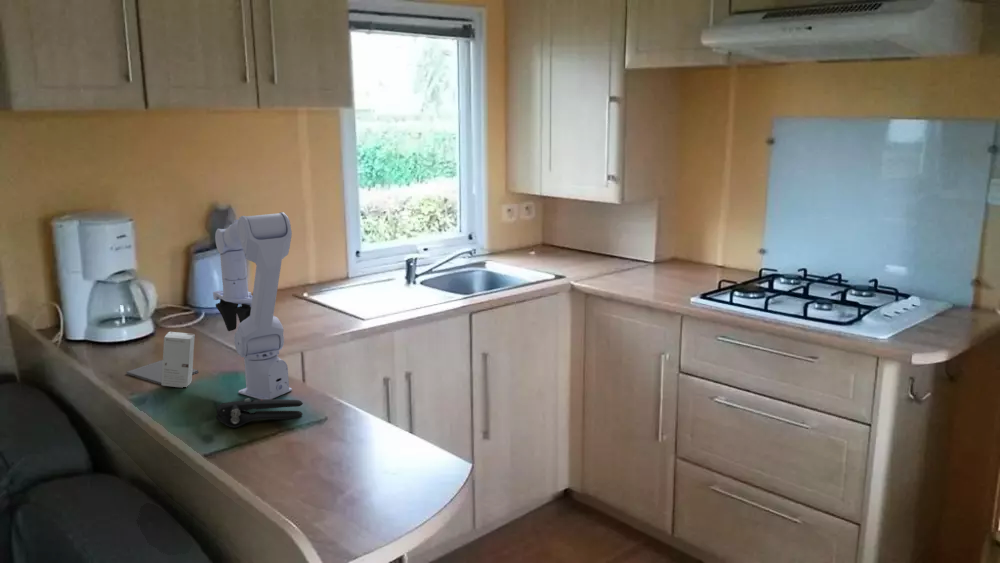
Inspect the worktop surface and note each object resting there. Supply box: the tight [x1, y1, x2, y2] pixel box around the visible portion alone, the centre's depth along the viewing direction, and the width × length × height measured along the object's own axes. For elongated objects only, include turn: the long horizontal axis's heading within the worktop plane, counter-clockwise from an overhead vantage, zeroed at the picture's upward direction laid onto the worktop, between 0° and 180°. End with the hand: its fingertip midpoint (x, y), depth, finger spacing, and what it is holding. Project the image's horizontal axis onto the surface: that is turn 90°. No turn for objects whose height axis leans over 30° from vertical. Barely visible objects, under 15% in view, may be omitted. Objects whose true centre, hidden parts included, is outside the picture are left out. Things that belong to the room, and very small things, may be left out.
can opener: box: [215, 397, 304, 428], centre depth 169 cm, size 18×7×6 cm, turn 108°
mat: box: [125, 359, 199, 385], centre depth 196 cm, size 14×10×1 cm
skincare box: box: [160, 331, 196, 388], centre depth 187 cm, size 6×4×12 cm
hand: (239, 331), depth 195 cm, fingers open, 5 cm apart
